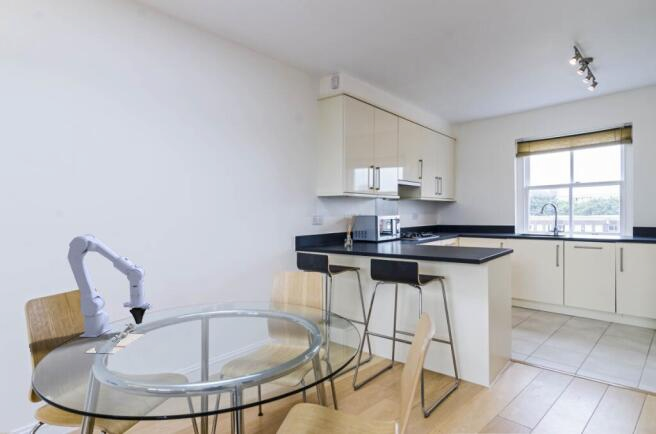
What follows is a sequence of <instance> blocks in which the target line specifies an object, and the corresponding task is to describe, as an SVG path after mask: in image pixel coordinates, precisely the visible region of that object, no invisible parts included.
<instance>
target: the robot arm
mask: <svg viewBox="0 0 656 434" xmlns="http://www.w3.org/2000/svg"><path fill="white" fill-rule="evenodd" d="M68 244H69V248H68V253H67V260H68V264H69V266H70V268H71V272H72V274H73V277H74V280H75V282H76V284H77V287H78V290H79V292H80V296H81V297H80V301H79V303H80V313H81V314H82V315H83V331H84V333H82V334H80V335H79V338H97V337H99V336H101V335H103V334H106V333H107V332H109V331H110V330H112V328H111V327H110V316H109V313H108V312H107V311H106V310H103V308H104V307H105V300H104V298H103V297H101V295H100V293H99V292H98V291H97V290H96V288H95V286H94V283H93V281H92V278H91V275H90V272H89V269H88V266H87V263H86V262H85V256H86V254H87V253H88V252H93V253H95V252H96V253H98V254H100V255H101V256H103V257H104V258H106V259H107V260H109V261H110V262H112V263H113V267H114V268H115V269H116V270H118V271H120V272H121V273H122V274H123V275H125V276H126V278H127V280H128V282H129V296H130V297H129V300H130V301H126V302H124V303H123V308H129V313H130V315H132V317H133V319H134V322H135V323H134V324H135V325H140V324H142V323H143V318H144V316H145V313H146V311H147V310H149V311H150V310H153V307H154V305H153V304H152V303H149V302H146V298H145V282H144V276H145V274H146V273H145V272H146V271H145V269H144V268H143V267H142V266H140V265H139V266H138V264H134V263H133V262H132V261H131V260H129V259H130V258H129V257H128V256H126V257H125V256H119V255H117V253H116V252H114V251H113V250H112V249H111V248H110V247H108V246H107V245H106V244H104V243H103V242H102V240H100V239H99V238H98V237H95V236H94V235H93V234H91V233H90V234H89V233H88V234H84V235H81V236H75V237H74V238H73V239H71V241H70V242H69V243H68Z"/></svg>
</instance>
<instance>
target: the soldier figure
mask: <svg viewBox="0 0 656 434" xmlns="http://www.w3.org/2000/svg"><path fill="white" fill-rule="evenodd" d="M124 325H125V326H126V328H125V329H124V330H123V332H121V333H120V332H119V333H120V334H119V333H116V334H115V335H118V336H115V335H114V336H115V338H116V339H115V340H116V341H117V340H118V339H120V338H124V337H126V336H127V335H128V334H129V333H131V332H132V330H133V329H134V328H135V327H136V325H137V324H135V323H129V324H128V323H125V324H124ZM115 340H111V341H112V342H116V341H115Z"/></svg>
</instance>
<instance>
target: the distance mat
mask: <svg viewBox="0 0 656 434" xmlns="http://www.w3.org/2000/svg"><path fill="white" fill-rule="evenodd" d="M146 333H147V332H129V334H128V335H127V336H126V337H124V338H122V340H120V342H119V343H118V344H117V345H116V346H115V347H114V349H113V351H112V352H111V354H110V355H114V354H117V353H118V352H119V351H121V350H122V349H124V348H126V347H127V346H128V345H130V344H132V343H134V342H135V341H136V340H139V338H141V337H143V336H145V335H146ZM84 353H85V354H97V353H96V351H95V348H94V347H93V348H90V349H88V350H87V351H85V352H84Z"/></svg>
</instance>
